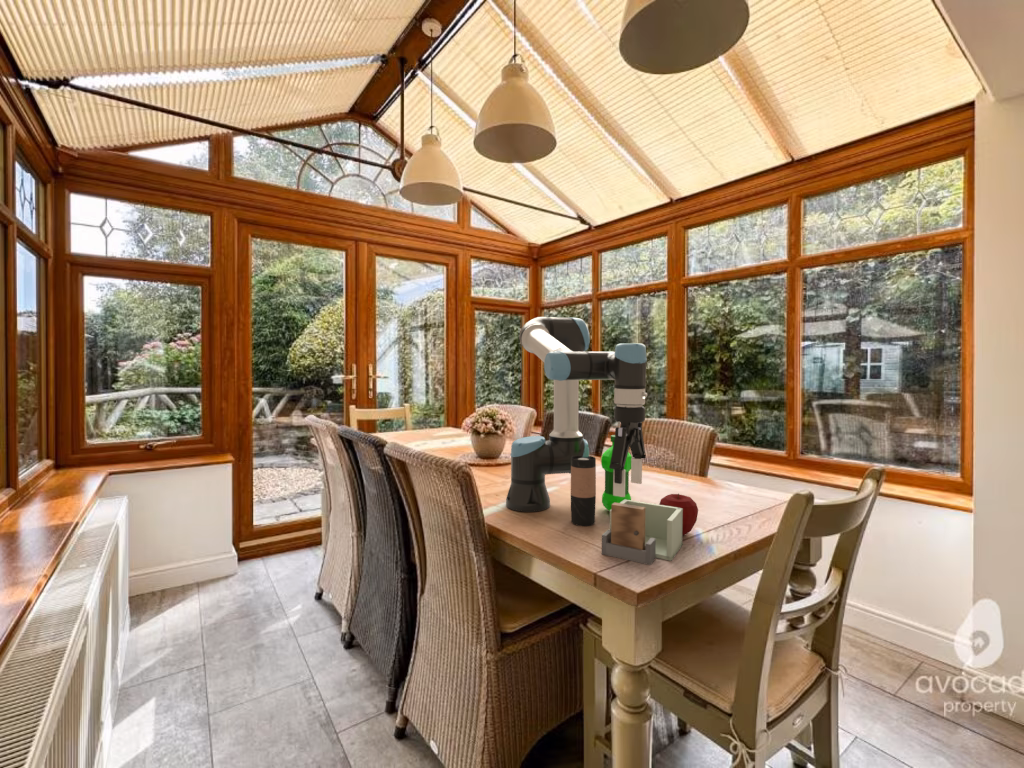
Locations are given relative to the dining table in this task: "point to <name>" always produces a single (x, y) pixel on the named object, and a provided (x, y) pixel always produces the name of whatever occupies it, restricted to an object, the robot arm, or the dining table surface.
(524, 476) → the robot arm
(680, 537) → the cabinet
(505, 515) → the dining table surface
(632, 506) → the door panel
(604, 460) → the plastic bottle
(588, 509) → the travel mug
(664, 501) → the apple
